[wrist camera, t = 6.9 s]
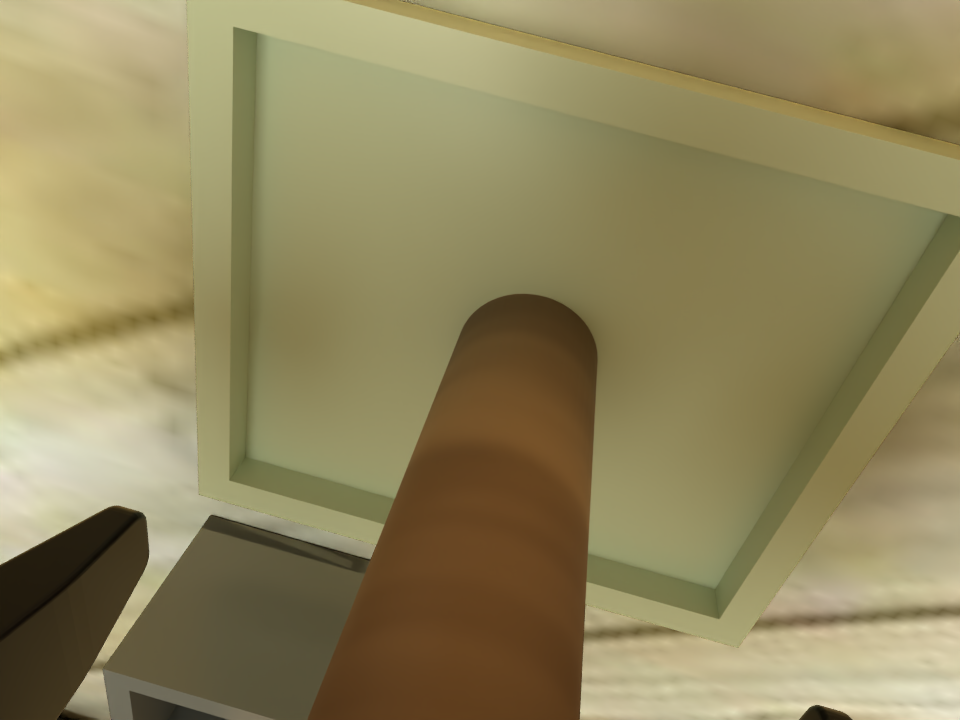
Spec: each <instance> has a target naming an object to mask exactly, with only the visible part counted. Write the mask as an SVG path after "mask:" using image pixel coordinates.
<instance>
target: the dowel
mask: <svg viewBox="0 0 960 720" xmlns="http://www.w3.org/2000/svg"><path fill="white" fill-rule="evenodd" d="M597 362H598V357H597V348H596V343H595V340H594V338H593V335H592V333H591V331H590V329H589V328H588V326H587V325H586V324H585V322H584V321H583V320H582V319H581V318H580V317H579V316H578V315H577V314H576V313H575V312H574V311H572V310H571V309H570V308H568V307H567V306H565V305H564V304H562V303H560V302H558V301H556V300H553V299H550V298H547V297H544V296H540V295H535V294H512V295H506V296H502V297H499V298H496V299H494V300H491V301H489V302H487V303H486V304H484V305H482V306H481V307H480V308H478V309H477V310H476V311H475V312H474V313H473V314H472V315H471V316H470V317H469V318H468V320H467V321H466V323H465V324H464V326H463V328H462V330H461V333H460V335H459V338H458V340H457V343H456V345H455V348H454V350H453V353H452V356H451V358H450V361H449V363H448V366H447V368H446V371H445V373H444V376H443V378H442V381H441V383H440V386H439V388H438V391H437V393H436V396H435V398H434V401H433V403H432V406H431V409H430V411H429V414H428V416H427V419H426V421H425V424H424V426H423V429H422V431H421V434H420V436H419V439H418V441H417V444H416V446H415V449H414V451H413V454H412V456H411V459H410V461H409V464H408V467H407V469H406V472H405V474H404V477H403V479H402V482H401V484H400V487H399V489H398V492H397V494H396V497H395V499H394V502H393V504H392V507H391V509H390V512H389V514H388V517H387V520H386V522H385V525H384V527H383V530H382V532H381V535H380V537H379V540H378V542H377V545H376V547H375V550H374V552H373V555H372V557H371V560H370V562H369V565H368V567H367V570H366V573H365V575H364V578H363V580H362V583H361V585H360V588H359V590H358V593H357V595H356V598H355V600H354V603H353V605H352V608H351V610H350V613H349V615H348V618H347V620H346V623H345V626H344V628H343V631H342V633H341V636H340V638H339V641H338V643H337V646H336V648H335V651H334V653H333V656H332V658H331V661H330V663H329V666H328V668H327V671H326V673H325V676H324V678H323V681H322V684H321V686H320V689H319V691H318V694H317V696H316V699H315V701H314V704H313V706H312V709H311V711H310V714H309V716H308V719H307V720H580V701H581V681H582V661H583V641H584V621H585V601H586V581H587V561H588V541H589V521H590V502H591V482H592V462H593V442H594V422H595V402H596V382H597Z"/></svg>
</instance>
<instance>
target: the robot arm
mask: <svg viewBox="0 0 960 720" xmlns="http://www.w3.org/2000/svg"><path fill="white" fill-rule="evenodd" d="M148 558H149V544H148V532H147V521H146V517H145V516H144V514H143V513H142V512H139V511H136V510H132V509H129V508H125V507H122V506H112V507H108V508H106V509H104V510H102V511H100V512H99V513H97V514H95V515H93V516H91V517H89V518H87V519H85V520H84V521H82V522H80V523H78V524H76V525H74V526H72V527H70V528H69V529H67V530H65V531H63V532H61V533H59V534H57V535H55V536H54V537H52V538H50V539H48V540H46V541H44V542H42V543H40V544H39V545H37V546H35V547H33V548H31V549H29V550H27V551H25V552H24V553H22V554H20V555H18V556H16V557H14V558H12V559H10V560H9V561H7V562H5V563H3V564H1V565H0V720H65V719H61V718H58V717H59V715H60V714H61V712H62V711H63V709H64V708H65V707H66V705H67V704H68V702H69V701H70V699H71V698H72V696H73V695H74V693H75V692H76V690H77V689H78V687H79V686H80V684H81V683H82V681H83V680H84V678H85V676H86V675H87V673H88V671H89V670H90V668H91V666H92V664H93V663H94V661H95V659H96V657H97V656H98V654H99V652H100V650H101V648H102V647H103V645H104V643H105V641H106V639H107V637H108V636H109V634H110V632H111V630H112V628H113V627H114V625H115V623H116V621H117V619H118V617H119V616H120V614H121V612H122V610H123V608H124V607H125V605H126V603H127V601H128V599H129V597H130V596H131V594H132V592H133V590H134V588H135V587H136V585H137V583H138V581H139V579H140V577H141V576H142V574H143V572H144V570H145V568H146V565H147V562H148ZM799 720H852V719H851V718H850V717H849V716H848V715H847V714H845V713H843V712H841V711H838V710H834V709H831V708H827V707H824V706H820V705H815V706H812V707H810V708H809V709H808V710H807V711H806V712H805V713H804V715H803V716H802V717H801V718H800V719H799Z"/></svg>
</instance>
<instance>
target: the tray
mask: <svg viewBox="0 0 960 720" xmlns="http://www.w3.org/2000/svg"><path fill="white" fill-rule="evenodd" d="M186 2H187V41H188V81H189V121H190V161H191V201H192V241H193V281H194V321H195V361H196V401H197V441H198V481H199V495H202V496H205V497H209V498H212V499H216V500H219V501H223V502H226V503H230V504H233V505H237V506H240V507H244V508H247V509H251V510H255V511H258V512H262V513H265V514H269V515H272V516H276V517H279V518H283V519H286V520H290V521H293V522H297V523H300V524H304V525H307V526H311V527H314V528H318V529H321V530H325V531H328V532H332V533H335V534H339V535H342V536H346V537H349V538H353V539H356V540H360V541H364V542H367V543H371V544H374V545H377V542H378V540H379V537H380V535H381V532H382V530H383V527H384V525H385V522H386V520H387V517H388V514H389V512H390V509H391V507H392V504H393V502H394V499H395V497H396V494H397V492H398V489H399V487H400V484H401V482H402V479H403V477H404V474H405V472H406V469H407V467H408V464H409V461H410V459H411V456H412V454H413V451H414V449H415V446H416V444H417V441H418V439H419V436H420V434H421V431H422V429H423V426H424V424H425V421H426V419H427V416H428V414H429V411H430V409H431V406H432V403H433V401H434V398H435V396H436V393H437V391H438V388H439V386H440V383H441V381H442V378H443V376H444V373H445V371H446V368H447V366H448V363H449V361H450V358H451V356H452V353H453V350H454V348H455V345H456V343H457V340H458V338H459V335H460V333H461V330H462V328H463V326H464V324H465V323H466V321H467V320H468V318H469V317H470V316H471V315H472V314H473V313H474V312H475V311H476V310H477V309H478V308H480V307H481V306H482V305H484V304H486V303H487V302H489V301H491V300H494V299H496V298H499V297H502V296H506V295H512V294H535V295H540V296H544V297H547V298H550V299H553V300H556V301H558V302H560V303H562V304H564V305H565V306H567V307H568V308H570V309H571V310H572V311H574V312H575V313H576V314H577V315H578V316H579V317H580V318H581V319H582V320H583V321H584V322H585V324H586V325H587V326H588V328H589V329H590V331H591V333H592V335H593V338H594V340H595V343H596V348H597V357H598V362H597V382H596V402H595V422H594V442H593V462H592V482H591V502H590V521H589V541H588V561H587V581H586V601H585V605H589V606H592V607H596V608H599V609H603V610H606V611H610V612H613V613H617V614H620V615H624V616H627V617H631V618H634V619H638V620H641V621H645V622H648V623H652V624H655V625H659V626H662V627H666V628H670V629H673V630H677V631H680V632H684V633H687V634H691V635H694V636H698V637H701V638H705V639H708V640H712V641H715V642H719V643H722V644H726V645H729V646H733V647H736V648H738V647H739V646H740V644H741V643H742V642H743V640H744V639H745V637H746V636H747V635H748V633H749V632H750V630H751V629H752V627H753V626H754V625H755V623H756V622H757V620H758V619H759V617H760V616H761V615H762V613H763V612H764V610H765V609H766V607H767V606H768V605H769V603H770V602H771V600H772V599H773V597H774V596H775V595H776V593H777V592H778V590H779V589H780V588H781V586H782V585H783V583H784V582H785V580H786V579H787V578H788V576H789V575H790V573H791V572H792V570H793V569H794V568H795V566H796V565H797V563H798V562H799V560H800V559H801V558H802V556H803V555H804V553H805V552H806V551H807V549H808V548H809V546H810V545H811V543H812V542H813V541H814V539H815V538H816V536H817V535H818V533H819V532H820V531H821V529H822V528H823V526H824V525H825V523H826V522H827V521H828V519H829V518H830V516H831V515H832V513H833V512H834V511H835V509H836V508H837V506H838V505H839V504H840V502H841V501H842V499H843V498H844V496H845V495H846V494H847V492H848V491H849V489H850V488H851V486H852V485H853V484H854V482H855V481H856V479H857V478H858V476H859V475H860V474H861V472H862V471H863V469H864V468H865V467H866V465H867V464H868V462H869V461H870V459H871V458H872V457H873V455H874V454H875V452H876V451H877V449H878V448H879V447H880V445H881V444H882V442H883V441H884V439H885V438H886V437H887V435H888V434H889V432H890V431H891V430H892V428H893V427H894V425H895V424H896V422H897V421H898V420H899V418H900V417H901V415H902V414H903V412H904V411H905V410H906V408H907V407H908V405H909V404H910V402H911V401H912V400H913V398H914V397H915V395H916V394H917V392H918V391H919V390H920V388H921V387H922V385H923V384H924V383H925V381H926V380H927V378H928V377H929V375H930V374H931V373H932V371H933V370H934V368H935V367H936V365H937V364H938V363H939V361H940V360H941V358H942V357H943V355H944V354H945V353H946V351H947V350H948V348H949V347H950V346H951V344H952V343H953V341H954V340H955V338H956V337H957V336H958V334H959V333H960V145H957V144H953V143H949V142H945V141H941V140H937V139H934V138H930V137H926V136H922V135H918V134H914V133H910V132H907V131H903V130H899V129H895V128H891V127H887V126H883V125H880V124H876V123H872V122H868V121H864V120H860V119H856V118H852V117H849V116H845V115H841V114H837V113H833V112H829V111H825V110H822V109H818V108H814V107H810V106H806V105H802V104H798V103H794V102H791V101H787V100H783V99H779V98H775V97H771V96H767V95H764V94H760V93H756V92H752V91H748V90H744V89H740V88H736V87H733V86H729V85H725V84H721V83H717V82H713V81H709V80H706V79H702V78H698V77H694V76H690V75H686V74H682V73H678V72H675V71H671V70H667V69H663V68H659V67H655V66H651V65H648V64H644V63H640V62H636V61H632V60H628V59H624V58H620V57H617V56H613V55H609V54H605V53H601V52H597V51H593V50H590V49H586V48H582V47H578V46H574V45H570V44H566V43H562V42H559V41H555V40H551V39H547V38H543V37H539V36H535V35H532V34H528V33H524V32H520V31H516V30H512V29H508V28H504V27H501V26H497V25H493V24H489V23H485V22H481V21H477V20H474V19H470V18H466V17H462V16H458V15H454V14H450V13H446V12H443V11H439V10H435V9H431V8H427V7H423V6H419V5H416V4H412V3H408V2H404V1H400V0H186Z"/></svg>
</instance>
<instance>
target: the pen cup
mask: <svg viewBox="0 0 960 720" xmlns="http://www.w3.org/2000/svg"><path fill="white" fill-rule="evenodd" d="M369 562H370V561H369V560H365V559H362V558H358V557H355V556H351V555H348V554H344V553H341V552H337V551H334V550H330V549H327V548H323V547H320V546H316V545H313V544H309V543H306V542H302V541H299V540H295V539H292V538H288V537H285V536H281V535H278V534H274V533H271V532H267V531H264V530H260V529H257V528H253V527H250V526H246V525H243V524H239V523H236V522H232V521H229V520H225V519H222V518H218V517H214V516H211V515H210V517H209V518H208V519H207V521H206V522H205V524H204V525H203V526H202V528H201V529H200V531H199V532H198V534H197V535H196V536H195V538H194V539H193V541H192V542H191V544H190V545H189V546H188V548H187V549H186V551H185V552H184V554H183V555H182V556H181V558H180V559H179V561H178V562H177V564H176V565H175V566H174V568H173V569H172V571H171V572H170V574H169V575H168V576H167V578H166V579H165V581H164V582H163V584H162V585H161V586H160V588H159V589H158V591H157V592H156V594H155V595H154V596H153V598H152V599H151V601H150V602H149V604H148V605H147V606H146V608H145V609H144V611H143V612H142V613H141V615H140V616H139V618H138V619H137V621H136V622H135V623H134V625H133V626H132V628H131V629H130V631H129V632H128V633H127V635H126V636H125V638H124V639H123V641H122V642H121V643H120V645H119V646H118V648H117V649H116V651H115V652H114V653H113V655H112V656H111V658H110V659H109V661H108V662H107V663H106V665H105V666H104V668H103V674H104V680H105V686H106V692H107V698H108V704H109V710H110V716H111V720H307V719H308V716H309V714H310V711H311V709H312V706H313V704H314V701H315V699H316V696H317V694H318V691H319V689H320V686H321V684H322V681H323V678H324V676H325V673H326V671H327V668H328V666H329V663H330V661H331V658H332V656H333V653H334V651H335V648H336V646H337V643H338V641H339V638H340V636H341V633H342V631H343V628H344V626H345V623H346V620H347V618H348V615H349V613H350V610H351V608H352V605H353V603H354V600H355V598H356V595H357V593H358V590H359V588H360V585H361V583H362V580H363V578H364V575H365V573H366V570H367V567H368V565H369Z"/></svg>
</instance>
